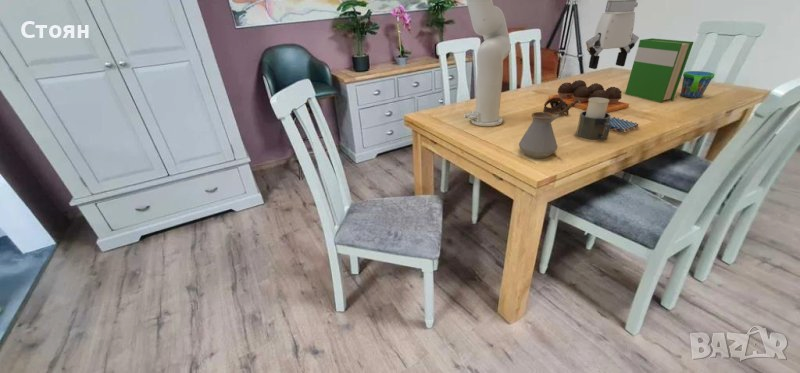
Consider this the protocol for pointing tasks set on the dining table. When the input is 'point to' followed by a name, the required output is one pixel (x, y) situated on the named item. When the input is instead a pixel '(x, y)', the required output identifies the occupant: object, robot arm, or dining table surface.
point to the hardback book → (658, 68)
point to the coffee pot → (541, 135)
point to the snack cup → (695, 83)
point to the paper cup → (597, 107)
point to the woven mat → (621, 125)
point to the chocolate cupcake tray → (589, 95)
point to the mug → (593, 127)
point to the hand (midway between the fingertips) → (606, 66)
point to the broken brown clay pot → (555, 105)
